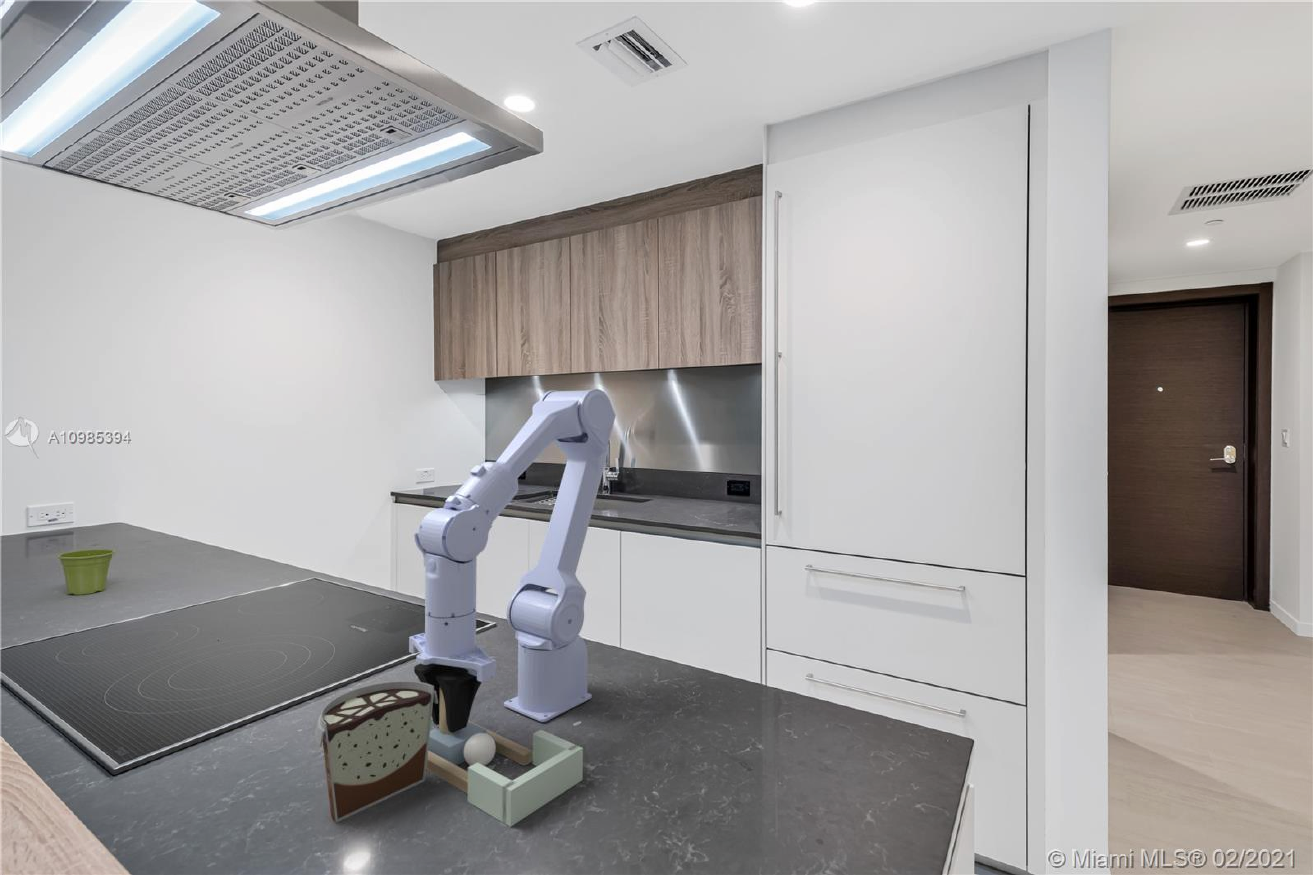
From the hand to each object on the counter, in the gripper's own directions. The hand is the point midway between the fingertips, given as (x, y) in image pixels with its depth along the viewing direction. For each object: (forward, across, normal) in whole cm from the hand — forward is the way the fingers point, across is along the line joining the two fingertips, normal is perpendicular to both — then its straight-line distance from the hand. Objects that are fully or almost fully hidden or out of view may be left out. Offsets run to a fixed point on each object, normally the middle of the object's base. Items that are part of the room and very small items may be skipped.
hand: (450, 725), depth 73 cm
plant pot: (+3, -121, -11) cm, 121 cm away
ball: (+1, +6, 0) cm, 6 cm away
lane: (+3, +1, 0) cm, 3 cm away
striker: (+3, 0, 0) cm, 3 cm away
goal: (+3, +13, 0) cm, 13 cm away
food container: (+3, 0, -10) cm, 10 cm away
